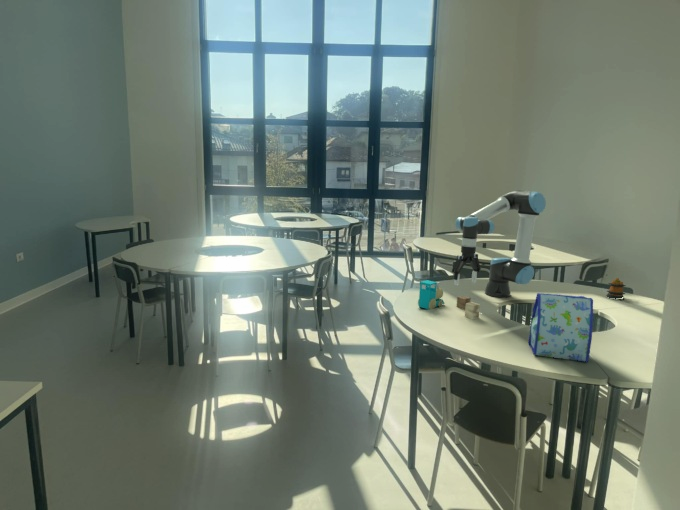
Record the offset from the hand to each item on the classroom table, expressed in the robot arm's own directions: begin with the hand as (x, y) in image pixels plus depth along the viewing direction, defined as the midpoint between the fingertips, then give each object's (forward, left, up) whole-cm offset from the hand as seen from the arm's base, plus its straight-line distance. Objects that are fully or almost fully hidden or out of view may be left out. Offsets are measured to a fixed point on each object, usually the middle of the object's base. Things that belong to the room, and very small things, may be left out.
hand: (465, 284), depth 256 cm
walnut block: (0, 0, -14) cm, 14 cm away
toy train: (+12, -12, -15) cm, 22 cm away
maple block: (+9, +14, -13) cm, 21 cm away
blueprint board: (+7, +12, -14) cm, 20 cm away
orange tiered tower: (-108, +27, -15) cm, 112 cm away
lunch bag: (+11, +63, -15) cm, 66 cm away
